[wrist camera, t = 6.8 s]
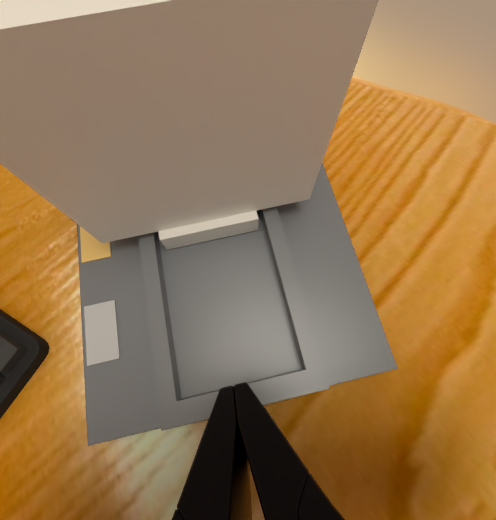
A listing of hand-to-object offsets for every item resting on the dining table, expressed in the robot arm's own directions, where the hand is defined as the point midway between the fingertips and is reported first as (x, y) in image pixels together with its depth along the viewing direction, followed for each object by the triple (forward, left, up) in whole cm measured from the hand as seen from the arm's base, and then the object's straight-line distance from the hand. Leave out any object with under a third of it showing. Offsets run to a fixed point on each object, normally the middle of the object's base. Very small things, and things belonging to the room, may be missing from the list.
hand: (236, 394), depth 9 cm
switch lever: (+9, +2, -5) cm, 11 cm away
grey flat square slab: (+6, +1, -7) cm, 10 cm away
